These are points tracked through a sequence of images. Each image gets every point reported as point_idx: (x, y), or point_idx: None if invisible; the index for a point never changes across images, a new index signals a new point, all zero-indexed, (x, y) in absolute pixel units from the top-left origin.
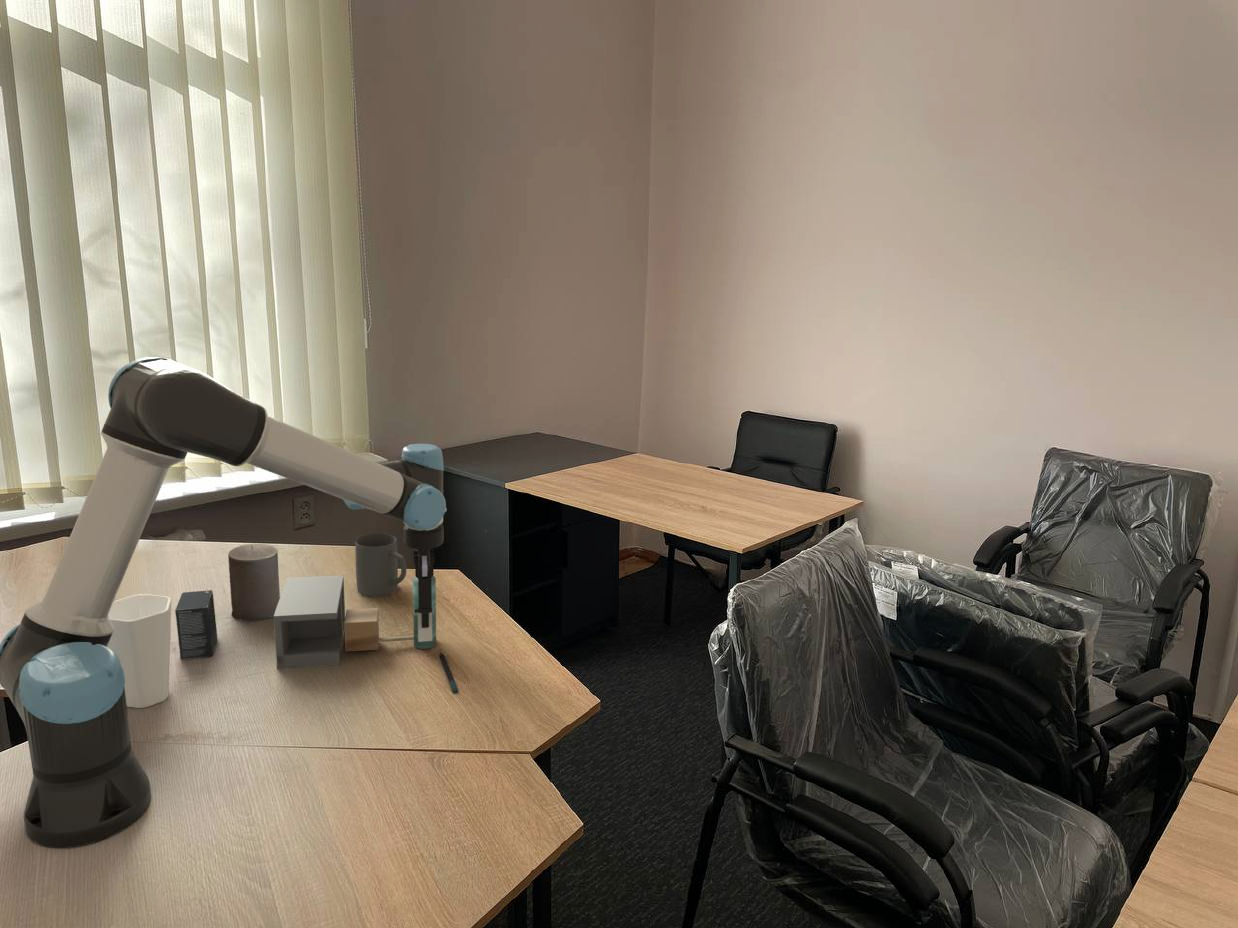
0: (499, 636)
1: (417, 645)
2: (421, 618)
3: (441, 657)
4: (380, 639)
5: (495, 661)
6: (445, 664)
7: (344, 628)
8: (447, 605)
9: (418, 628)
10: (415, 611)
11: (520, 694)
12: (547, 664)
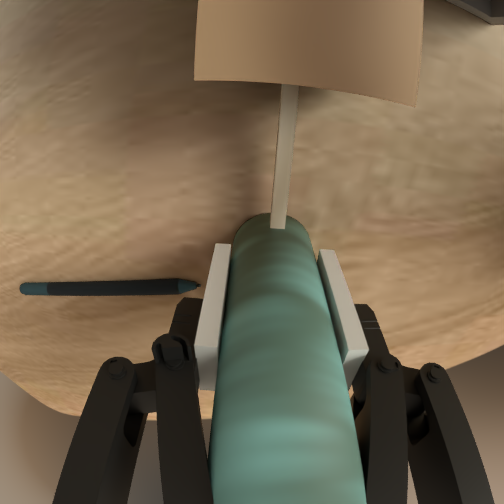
0: None
1: (243, 227)
2: (186, 329)
3: (156, 286)
4: (282, 93)
5: None
6: (113, 291)
7: (458, 5)
8: (473, 312)
9: (208, 279)
10: (154, 344)
11: (49, 368)
12: None
